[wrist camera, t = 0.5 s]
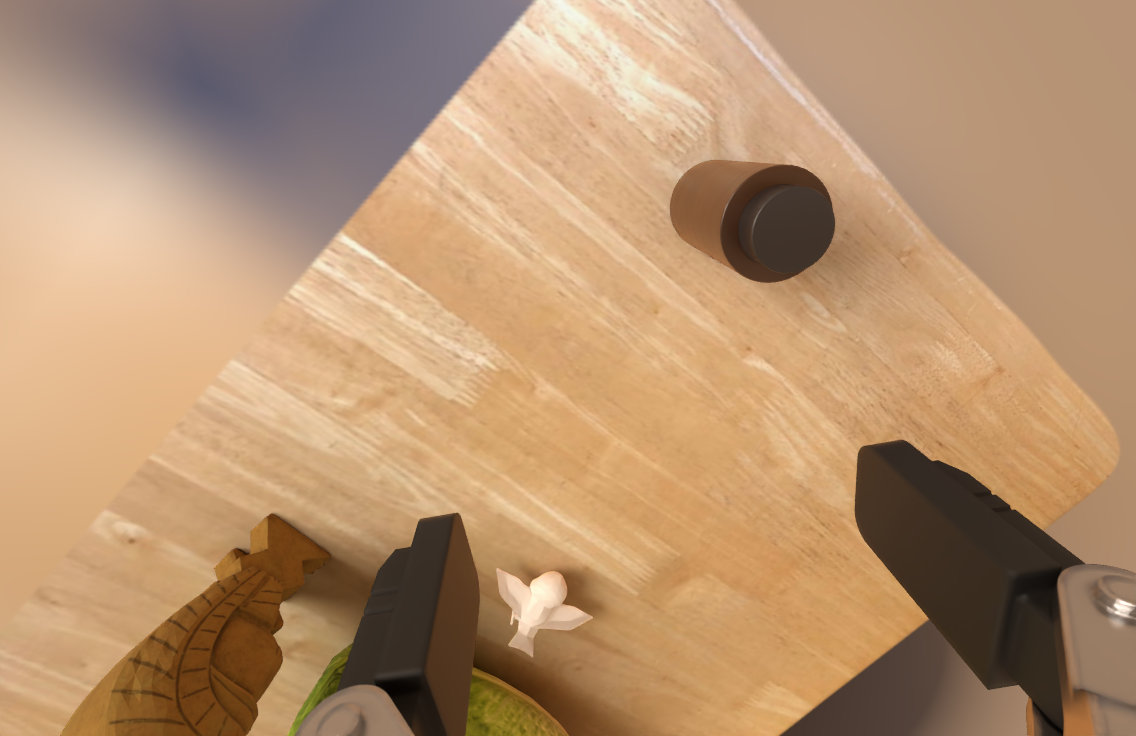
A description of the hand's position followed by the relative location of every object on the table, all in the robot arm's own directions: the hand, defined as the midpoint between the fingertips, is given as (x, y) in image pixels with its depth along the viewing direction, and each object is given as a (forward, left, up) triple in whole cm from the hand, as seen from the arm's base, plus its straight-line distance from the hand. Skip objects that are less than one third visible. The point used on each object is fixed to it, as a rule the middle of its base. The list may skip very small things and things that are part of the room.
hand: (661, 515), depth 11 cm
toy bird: (+20, -8, -22) cm, 31 cm away
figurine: (+12, -24, -22) cm, 34 cm away
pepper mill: (-2, +8, -22) cm, 23 cm away
